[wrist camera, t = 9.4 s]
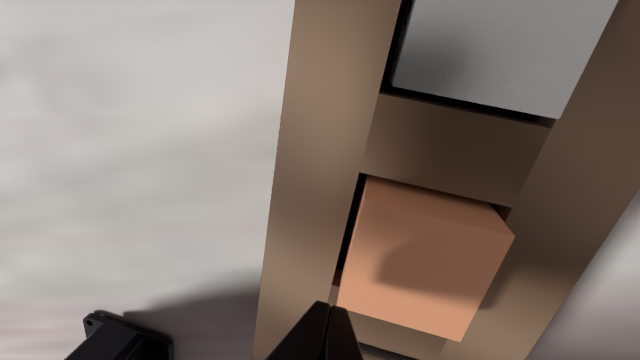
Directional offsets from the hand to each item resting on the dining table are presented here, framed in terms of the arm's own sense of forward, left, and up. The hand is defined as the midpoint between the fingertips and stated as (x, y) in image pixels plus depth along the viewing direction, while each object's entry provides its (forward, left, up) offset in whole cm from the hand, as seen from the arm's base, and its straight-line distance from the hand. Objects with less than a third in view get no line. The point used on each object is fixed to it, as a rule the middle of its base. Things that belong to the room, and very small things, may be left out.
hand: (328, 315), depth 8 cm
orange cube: (+1, -2, -5) cm, 6 cm away
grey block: (+8, -2, -6) cm, 10 cm away
